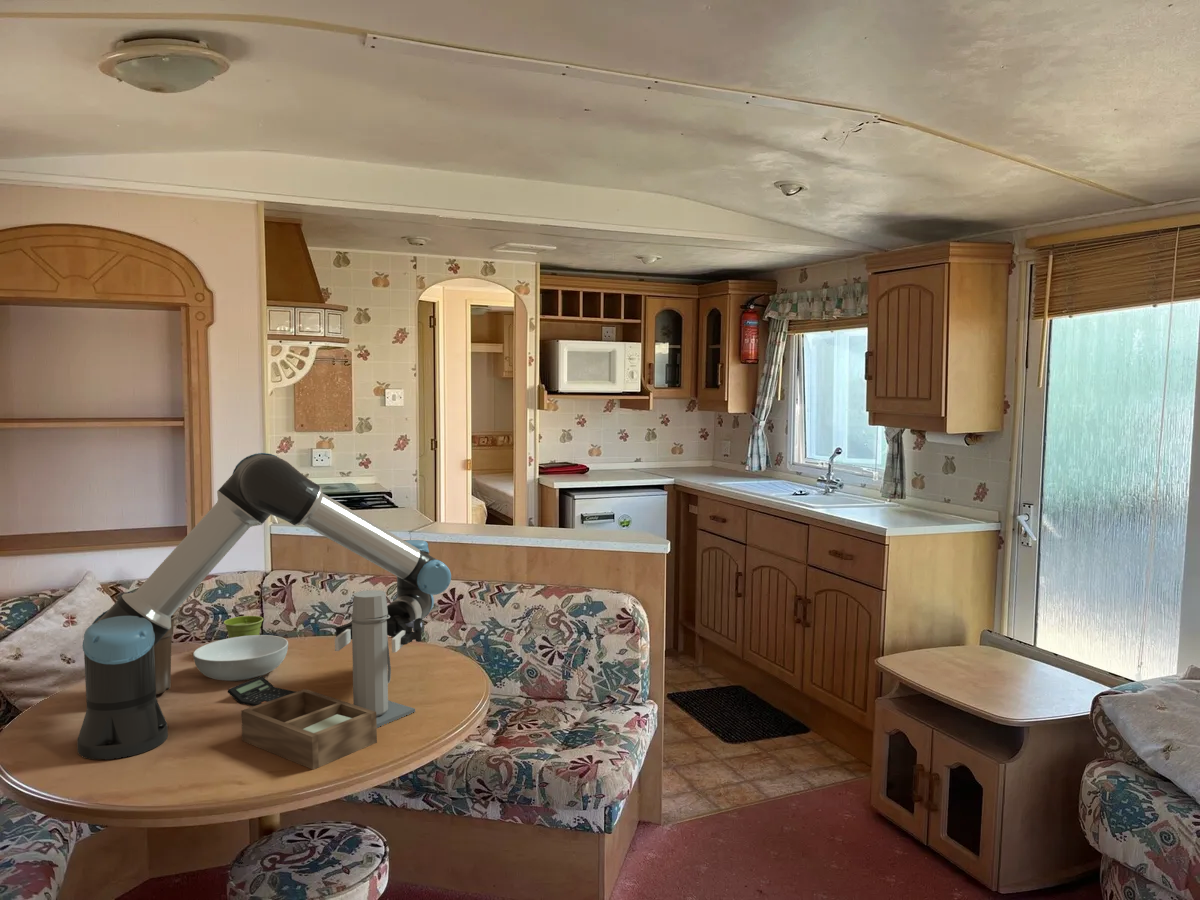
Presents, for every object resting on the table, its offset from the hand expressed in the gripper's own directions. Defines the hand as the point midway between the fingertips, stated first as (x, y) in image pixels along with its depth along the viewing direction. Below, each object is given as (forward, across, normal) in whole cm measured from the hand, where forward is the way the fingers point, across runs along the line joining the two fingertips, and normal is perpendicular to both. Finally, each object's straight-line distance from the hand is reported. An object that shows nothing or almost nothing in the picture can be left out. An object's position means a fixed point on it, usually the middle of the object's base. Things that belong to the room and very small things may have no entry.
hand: (364, 645), depth 172 cm
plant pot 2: (-42, +48, -16) cm, 66 cm away
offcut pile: (+14, +2, -16) cm, 22 cm away
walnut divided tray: (+10, +8, -16) cm, 20 cm away
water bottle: (-4, 0, -15) cm, 16 cm away
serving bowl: (-26, +40, -16) cm, 51 cm away
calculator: (-12, +28, -17) cm, 35 cm away
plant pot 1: (-10, +55, -15) cm, 58 cm away
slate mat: (-4, 0, -16) cm, 16 cm away
